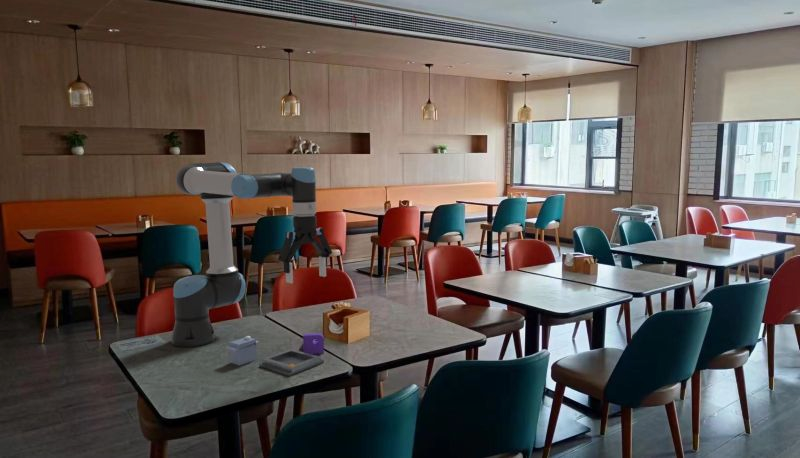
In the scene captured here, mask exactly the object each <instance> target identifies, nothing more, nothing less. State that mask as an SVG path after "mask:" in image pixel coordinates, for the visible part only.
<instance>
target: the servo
mask: <svg viewBox="0 0 800 458" xmlns="http://www.w3.org/2000/svg"><path fill="white" fill-rule="evenodd" d="M259 344H261V342H260V341H259V340H257V339H256V338H252V337H251V336H250V335H246V336H244V337H243V338H239V339H236V340H235V339H234V340H232V341H229V345H228V346H225V349H226V350H229V352H230V353H229V354H230V355H229V356H230V364H234V365H237V366H243V365H245V364H247V363H251V362H254V361H256V360H257V357H258V356H257V345H259Z"/></svg>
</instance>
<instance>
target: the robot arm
mask: <svg viewBox="0 0 800 458" xmlns="http://www.w3.org/2000/svg"><path fill="white" fill-rule="evenodd" d="M316 179H317V178H316V171H315V168H313V167H310V166H307V167H301V166H299V167H292V168H291V173H286V172H273V173H260V174H259V173H252V174H251V173H239V172H237V170H236V169H235V168H234V167H233V166H232V165H231V164H230V163H227V162H218V161H217V162H193V163H192V162H191V163H187V164H185V165H183V166H182V167H181V168H179V169H178V170H177V172H176V176H175V184H176V186H177V189H179V190H180V192H182V193H184V194H186V195H189V196H200V200H201V201H202V202H203V203H204V204H205V215H206V228H207V242H208V256H209V268H208V269H207V270H206V271H205V273H206V275H203V274H195V275H189V276H185V277H182V278H179V279H178V280H176V281H175V282H174V285H173V293H172V295H173V304H174V305H173V306H174V320H175V322H174V327H173V330H172V334H171V338H170V339H171V341H170V342H171V344H172V345H173V346H175V347H178V348H179V347H180V348H181V347H183V348H190V347H198V346H203V345H207V344H210V343H212V342H213V341H215V340H216V335H215V334H216V333H215V330H214V327H213V325H212V323H211V320H210V313H209V310H211V309H215V308H220V307H224V306H230V305H233V304H236V303H238V302H240V301H241V300H242V298H244V296H245V294H246V288H247V287H246V280H245V278H244V276H243V274H242V273H240V272H239V268H237V266H235V265H234V253H233V240H232V239H233V238H232V236H233V235H232V225H231V224H232V223H231V222H232V221H231V211H230V210H231V208H230V206H231V205H230V202H231V201H232V200H233V198H234V197H235V198H236V199H240V200H249V199H256V198H257V199H258V198H270V197H285V196H286V197H292V199H291V201H292V214H293V217H292V226H293V228H294V230H293V231H288V230H287V231H286V232H285V237H284V241H283V244H282V246H281V249H280V253H279V254H278V257H277V261H278V262H280V263H283V273H284V274H285V283H288V284H294V271H293V262H291V261H292V260H293V258H294V256H295V255H296V253H297V252H298V250H299V248H300V247H301V246H302V245H306V244H311V245H312V246H313V247H314V249H315V250H316V252H317V253H318V254H319V255H320V256H318V275H319V277H323V278H325V277H327V266H328V258H329V257H330V255H332V254H333V251H332V249H331V246H330V244H329V242H328V239H327V237H326V235H325V229H324V228H323V227H317V222H318V221H317V216H316V215H315V214H317V199H316V198H317V197H316V196H317V195H316V193H317V192H316V191H317V190H316V182H317V180H316Z"/></svg>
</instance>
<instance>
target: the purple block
mask: <svg viewBox="0 0 800 458" xmlns="http://www.w3.org/2000/svg"><path fill="white" fill-rule="evenodd" d="M324 341H325V340H324V335H323V333H320V332H318V333H317V332H315V333H314V332H313V333H303V334H302V345H303V349H302V350H303V351H302V352H305V353H308V354H312V355H316V354H317V355H318V354H324V353H325V348H324V347H325V342H324Z"/></svg>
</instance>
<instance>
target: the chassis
mask: <svg viewBox="0 0 800 458" xmlns="http://www.w3.org/2000/svg"><path fill="white" fill-rule="evenodd" d="M261 360H262V361H261V363H259V364H258V366H259V367H260V368H263V369H265V370H269V371H272V372H274V373H277V374H280V375H281V374H282V375H283V376H284V375H285V376H286V377H291V376H293V375H296V374H297V373H298V374H299V373H301V372H304V371H306V370H308V369H310V368H313V367H316V366H318V365H321V364H323V363H324V362H325V360H324V359H322V357H321V356H319V355H316V354H308V353H305V352H303V351H300V350H298V349H293V348H290V349H287V350H284V351H281V352H279V353H278V352H277V353H275V354H272V355H270V356H267V357H264V358H262V359H261Z"/></svg>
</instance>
